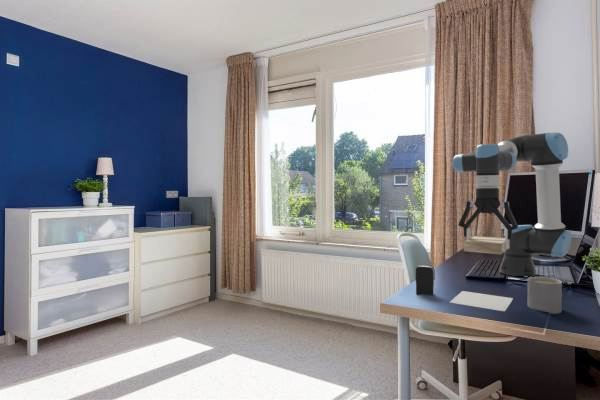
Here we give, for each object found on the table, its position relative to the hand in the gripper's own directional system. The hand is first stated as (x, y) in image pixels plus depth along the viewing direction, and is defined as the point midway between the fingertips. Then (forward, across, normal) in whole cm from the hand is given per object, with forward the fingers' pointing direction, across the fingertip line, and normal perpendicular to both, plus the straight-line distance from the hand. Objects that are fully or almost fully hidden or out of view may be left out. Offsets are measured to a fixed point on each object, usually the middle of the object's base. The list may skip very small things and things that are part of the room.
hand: (487, 247), depth 141 cm
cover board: (+1, 0, 0) cm, 1 cm away
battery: (+20, -22, -3) cm, 30 cm away
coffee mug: (+20, +17, +5) cm, 27 cm away
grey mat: (+20, -2, -1) cm, 20 cm away
